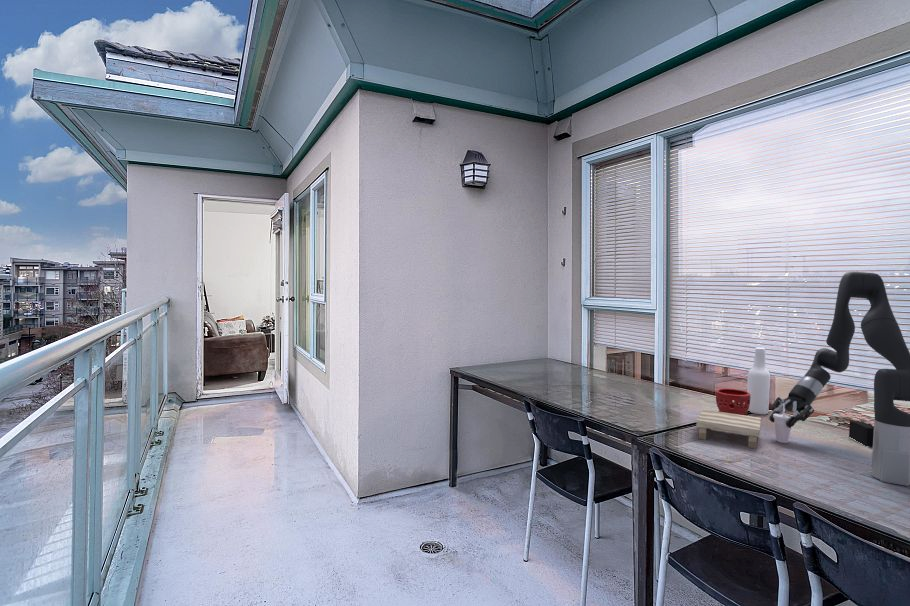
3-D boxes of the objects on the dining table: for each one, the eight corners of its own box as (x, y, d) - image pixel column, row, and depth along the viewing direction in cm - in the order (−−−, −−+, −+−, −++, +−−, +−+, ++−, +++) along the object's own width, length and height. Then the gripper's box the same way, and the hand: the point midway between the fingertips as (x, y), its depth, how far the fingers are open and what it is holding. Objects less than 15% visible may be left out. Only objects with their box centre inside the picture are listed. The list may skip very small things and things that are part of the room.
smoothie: (772, 442, 179) (774, 404, 178) (770, 437, 185) (772, 401, 184) (793, 445, 176) (795, 407, 175) (791, 440, 182) (792, 403, 181)
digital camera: (883, 448, 176) (884, 429, 175) (866, 446, 177) (867, 427, 176) (864, 439, 186) (865, 421, 186) (848, 438, 187) (849, 420, 187)
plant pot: (715, 412, 221) (716, 386, 220) (749, 417, 214) (750, 390, 214) (714, 419, 210) (715, 391, 209) (749, 424, 203) (750, 396, 202)
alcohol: (750, 408, 230) (753, 346, 229) (771, 413, 223) (774, 348, 222) (743, 411, 224) (746, 347, 223) (764, 415, 217) (767, 349, 216)
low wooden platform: (758, 449, 170) (759, 429, 170) (695, 438, 181) (696, 420, 181) (760, 435, 187) (761, 417, 186) (702, 426, 198) (703, 409, 197)
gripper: (783, 380, 188) (757, 411, 186) (819, 388, 174) (791, 422, 172) (793, 393, 190) (767, 424, 187) (830, 402, 176) (802, 436, 173)
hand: (779, 423), depth 180 cm, fingers closed on smoothie, 6 cm apart
